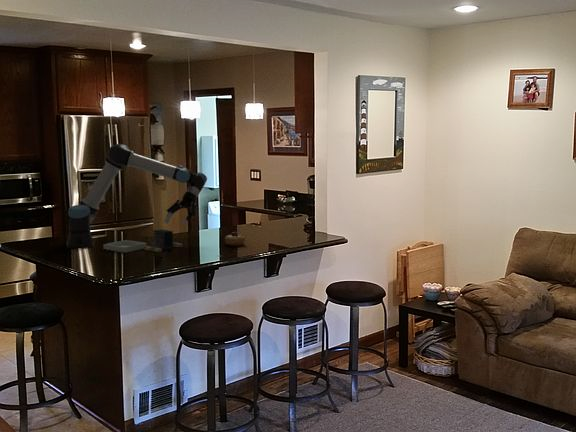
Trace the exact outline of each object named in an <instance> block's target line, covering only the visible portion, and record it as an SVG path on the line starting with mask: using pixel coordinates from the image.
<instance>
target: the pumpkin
mask: <svg viewBox="0 0 576 432" xmlns="http://www.w3.org/2000/svg"><path fill="white" fill-rule="evenodd" d="M237 231H238V232H239V233H241V231H240V230H239V229H236V230H235V231H232V232H231V234H227V235H226V236H225V237H224V240H225V241H224V243H225V244H226V245H227V246H230V247H240V246H241V245H242V246H244V244H245V242H246V237H245V236H244V235H239V233H238V232H237ZM242 246H241V247H242Z"/></svg>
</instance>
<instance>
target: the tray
mask: <svg viewBox="0 0 576 432" xmlns="http://www.w3.org/2000/svg"><path fill="white" fill-rule="evenodd" d="M144 246H148V245H147V242H144V241H143V242H142V241H135V240H130V239H129V240H128V239H125V240H124V239H123V240H120V241H115V242H108V243H105V244H103V250H104V249H106V250H105V251H109V250H111V252H115V253H116V252H118V253H124V254H126V253H131V252H135V251H140V250H144Z"/></svg>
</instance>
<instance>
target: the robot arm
mask: <svg viewBox="0 0 576 432" xmlns="http://www.w3.org/2000/svg"><path fill="white" fill-rule="evenodd" d="M104 163H105V164H104V166H103V167H102V169H101V171H100V172H99V174H98V176H97V178H96V179H95V182H94V183H93V184H92V186H91V188H90V189H89V191H88V193H87V195H86V196H85V197H84V198H82V199H81V200H80V202H79V203H78V204H76V205H72V206H69V208H68V212H67V214H68V232H69V233H68V237H67V241H66V248H68V249H75V250H78V248H79V249H88V248H87V247H89V248H92V246H93V247H95V241H94V237H93V236H92V233H91V232H92V231H91V223H92V222H94V220H95V219H96V216H97V214H98V212H99V210H100V203H101V202H102V200H103V198H104V196H105V195H106V193H107V192H108V190H109V188H110V186H111V185H112V183H113V182H114V180H115V178H116V176H117V175H118V173H119V172H120V171H123V170H124V168H125V167H126V168H129V167H133V168H135V169H139V170H142V171H145V172H148V173H152V174H155V175H157V176H161V177H165V178H167V179H170V180H173V181H177V182H179V183H181V184H185V183H186V184H187V185H189V186H188V188H187V189H186V190H185V191H184V194H183V195H182V199H181V200H180V199H177V200H176V201H175V203H172V205H171V206H170V207H169V208H167V209H166V212H167V214H166V217H165V218H164V222H165V224H169V222H170V220H171V219H172V217H173V214H175V213H176V212H178V211H179V210H182V209H186V210H187V214H186V215H185V216H184V218H183V220H182V221H181V223H182V225H183V226H186V225H187V223H188V222H189V221H190V220H191V218H192V217H194V216H196V213H197V212H196V211H197V210H196V209H197V205H198V203H197V202H196V200H197V198H198V197H199V195H200V194H201V192H202V190H203V189H204V187H205V185H206V183H207V180H208V177H207V176H206V174H204V173H202V172H197V173H194V172H193V171H191V170H189V169H188V168H186V167H185V166H184V165H183V166H182V165H181V164H178V165H177V166H175V165H171V164H167V163H165V162H162V161H158V160H157V159H153V158H149V157H146V156H144V155H143V156H142V155H139V154H137V153H134V150H131V149H130V147H128V146H127V145H125V144H124V143H116V144H113V145H111V146H110V147H109V148H108V150H107V155H106V156H105V159H104Z"/></svg>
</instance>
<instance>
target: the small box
mask: <svg viewBox="0 0 576 432" xmlns="http://www.w3.org/2000/svg"><path fill="white" fill-rule="evenodd" d="M173 233H174V232H173V230H168V229H153V247H156V248H162V251H168V250H173V249H174V246H173V243H174V242H173V241H174V239H173V237H174V235H173Z"/></svg>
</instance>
